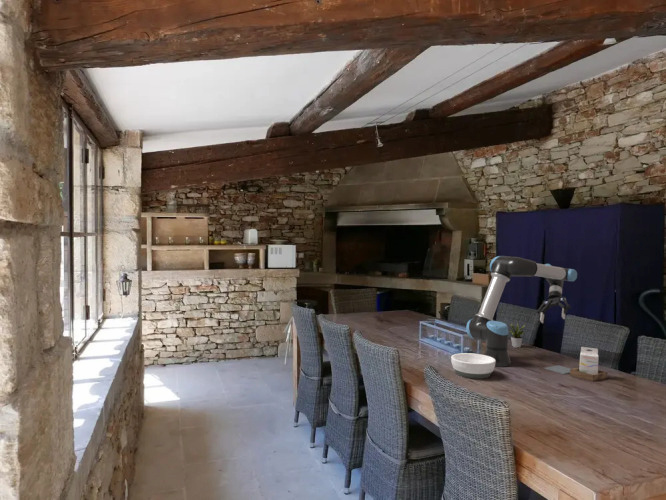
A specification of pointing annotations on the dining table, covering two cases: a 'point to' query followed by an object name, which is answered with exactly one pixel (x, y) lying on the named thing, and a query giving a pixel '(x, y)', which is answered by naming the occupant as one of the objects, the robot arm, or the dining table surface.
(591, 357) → the ink box
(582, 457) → the dining table surface
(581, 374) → the wooden tray
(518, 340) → the house plant
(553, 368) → the slate mat
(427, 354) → the dining table surface
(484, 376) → the bowl
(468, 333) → the robot arm
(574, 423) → the dining table surface
